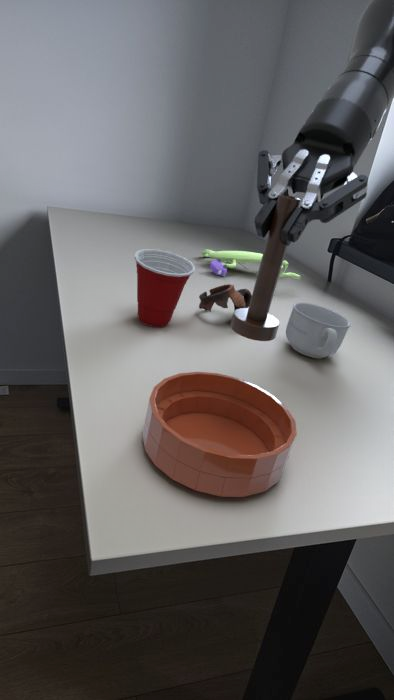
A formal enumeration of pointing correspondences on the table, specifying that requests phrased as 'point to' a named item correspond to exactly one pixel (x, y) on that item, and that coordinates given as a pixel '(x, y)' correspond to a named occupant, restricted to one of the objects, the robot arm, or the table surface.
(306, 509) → the table surface
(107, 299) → the table surface
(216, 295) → the brown curved piece
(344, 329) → the teacup
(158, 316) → the plastic cup
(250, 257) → the figurine
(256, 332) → the brown rod with base
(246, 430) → the bowl
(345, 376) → the table surface
